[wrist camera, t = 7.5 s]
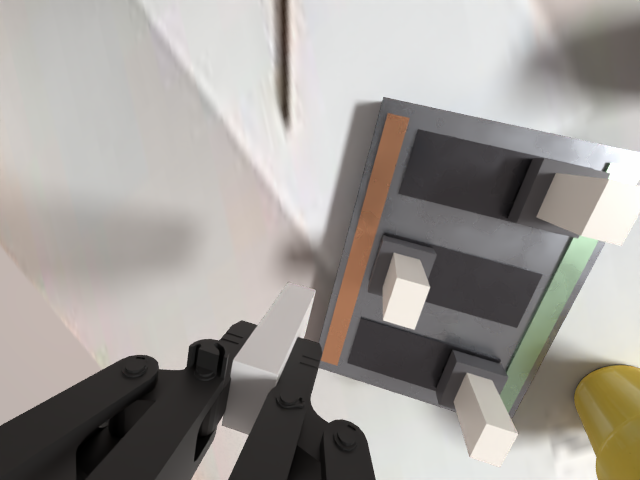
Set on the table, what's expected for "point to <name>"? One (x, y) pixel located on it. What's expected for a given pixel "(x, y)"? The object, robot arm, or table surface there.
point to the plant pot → (612, 419)
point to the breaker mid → (402, 279)
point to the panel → (459, 251)
